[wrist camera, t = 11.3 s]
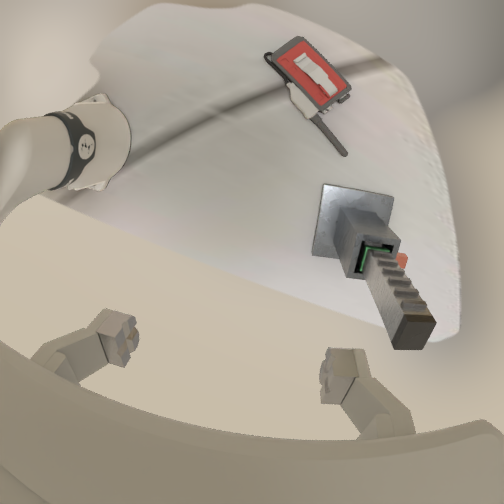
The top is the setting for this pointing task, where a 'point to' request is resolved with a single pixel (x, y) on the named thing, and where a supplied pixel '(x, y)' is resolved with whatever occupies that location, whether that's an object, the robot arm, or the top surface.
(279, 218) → the top surface
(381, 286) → the column
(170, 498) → the robot arm
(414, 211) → the top surface
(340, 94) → the walkie-talkie
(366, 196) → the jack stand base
